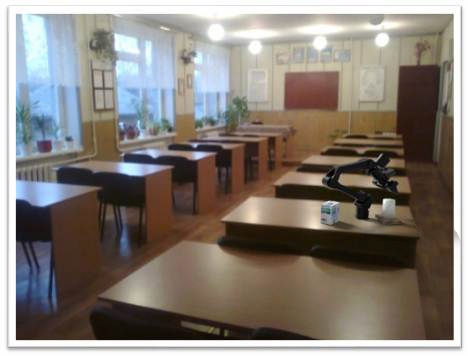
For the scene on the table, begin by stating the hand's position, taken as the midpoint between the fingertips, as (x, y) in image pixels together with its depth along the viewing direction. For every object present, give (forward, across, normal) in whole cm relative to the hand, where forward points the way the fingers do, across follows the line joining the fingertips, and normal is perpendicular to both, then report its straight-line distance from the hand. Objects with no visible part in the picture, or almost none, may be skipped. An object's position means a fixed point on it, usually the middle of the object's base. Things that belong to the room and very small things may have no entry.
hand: (393, 192), depth 252 cm
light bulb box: (-19, -3, +39) cm, 44 cm away
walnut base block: (+4, -9, +16) cm, 19 cm away
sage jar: (+2, -9, +14) cm, 17 cm away
